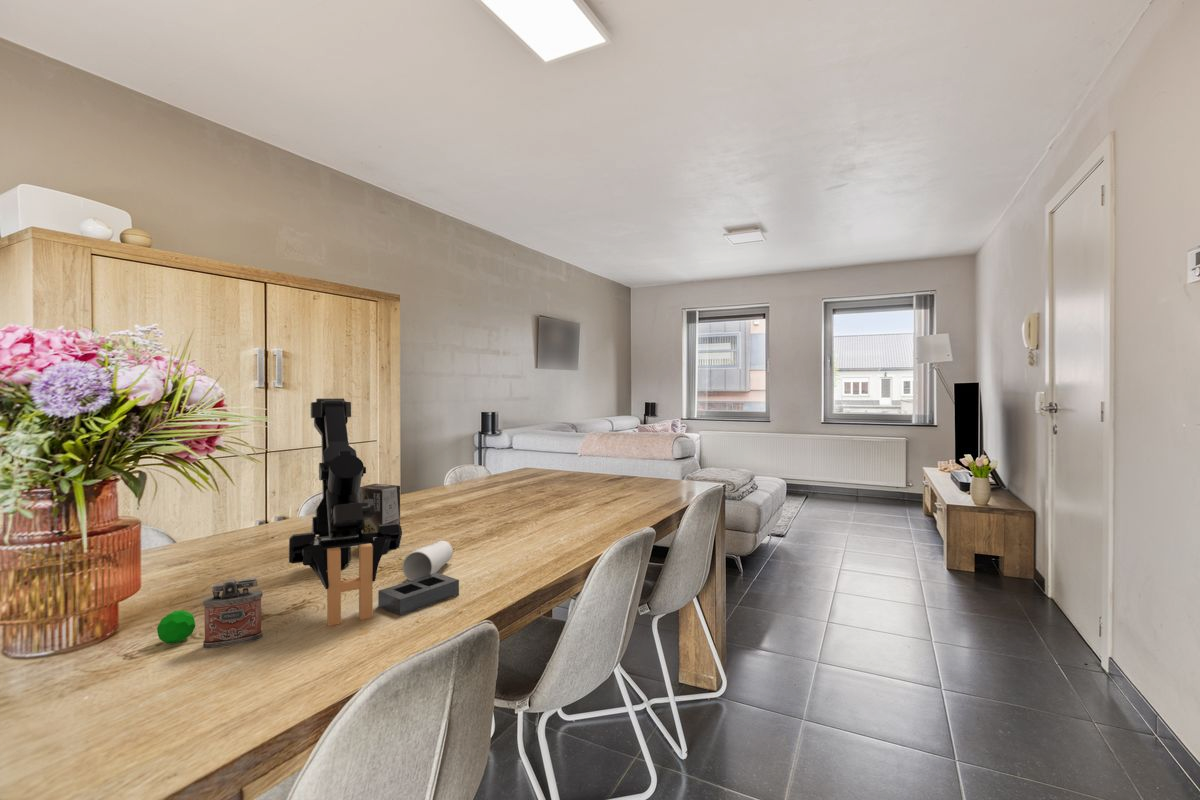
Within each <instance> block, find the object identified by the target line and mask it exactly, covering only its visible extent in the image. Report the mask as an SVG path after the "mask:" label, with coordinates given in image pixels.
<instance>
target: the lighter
mask: <svg viewBox="0 0 1200 800" xmlns="http://www.w3.org/2000/svg"><path fill="white" fill-rule="evenodd" d="M257 586H258V579H257V578H256V577H252V578H250V577H249V578H244V579H240V580H237V581H236V579H233V578H230V579H227V580H226V582H221V583H214V584H212V585H211V592H212V595H211V596H209V597H206V598H204V599H202V605H203V607H204V639H203V645H202V647H203V649H205V650H211V649H218V648H220V649H221V648H225V647H226V648H227V647H232V646H238V645H242V644H243V645H244V644H248V643H252V642H256V641H259V640H260V639H262V638H263V636H264V635H263V630H262V598H263V590H261V589H256V590H249V588H250V589H251V588H256V587H257ZM241 590H242V591H241ZM220 592H221V593H220Z"/></svg>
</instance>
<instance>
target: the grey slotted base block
mask: <svg viewBox="0 0 1200 800" xmlns="http://www.w3.org/2000/svg"><path fill="white" fill-rule="evenodd" d="M377 592H378V593H377V594H378V602H377V603H378V605H377V606H378V608H381V609H383V610H386V611H388V612H390V613H393V614H395V615H398V616H399V617H401V616H404V615H406V614H409V613H412V612H414V611H417V610H418V611H419V610H421V609H423V608H426V607H429V606H431V605H435V604H437V603H439V602H442V601H446V600H449V599H450V597H451V598H453V597H456V596H459V595H460V594H459V593H460V580H459V579H457V578H454V577H451V576H448V575H446V574H442V573H439V572H437V573H434V574H431V575H427V576H424V577H421V578H418V579H414V580H411V581H410V580H408V581H405V582H402V583H398V584H396V585H392V586H389V587H386V588H383V589H379V590H378V591H377Z"/></svg>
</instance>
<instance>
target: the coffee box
mask: <svg viewBox="0 0 1200 800" xmlns="http://www.w3.org/2000/svg"><path fill="white" fill-rule="evenodd" d="M358 496H359V503H362V502H363V500H365V499H373V500H374V507H375V515H374V516H373V517H372V518H364V522H365V529H364V530H363V534H368V533H376V532H377V530H378V525H382V524H391V523H398V524H399V525H400V526H401V485H395V484H386V483H385V484H384V483H383V484H382V483H373V484H367V485H363V486H360V489H359V491H358ZM399 546H400V547H401V543H400V544H399ZM357 549H359V546H357Z"/></svg>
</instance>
